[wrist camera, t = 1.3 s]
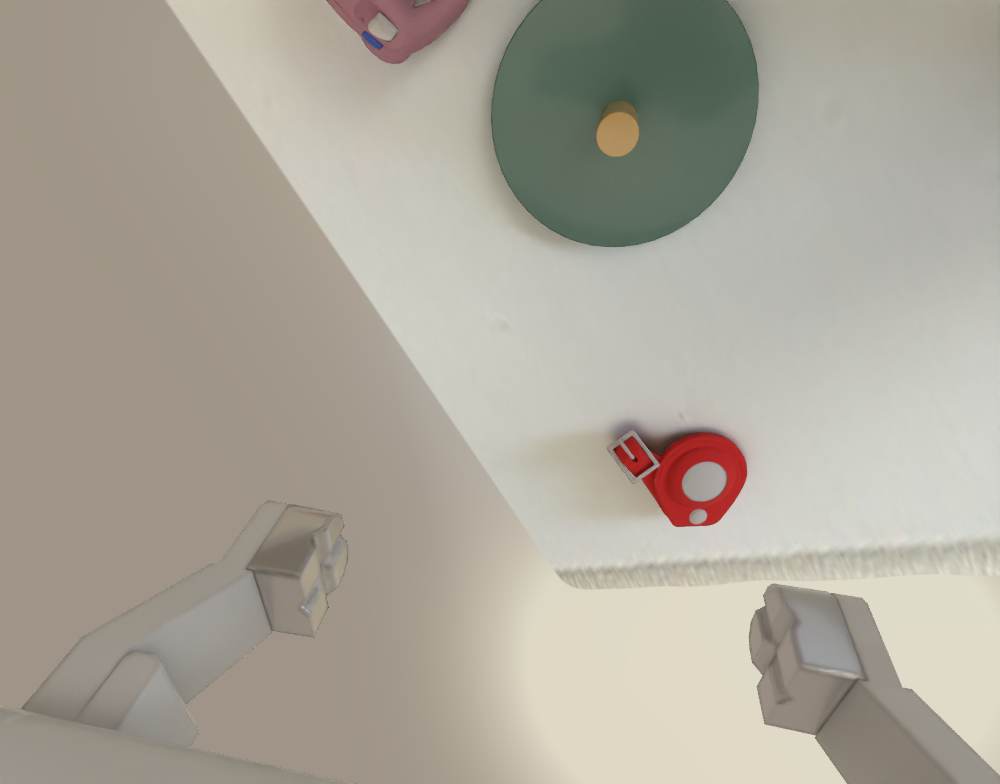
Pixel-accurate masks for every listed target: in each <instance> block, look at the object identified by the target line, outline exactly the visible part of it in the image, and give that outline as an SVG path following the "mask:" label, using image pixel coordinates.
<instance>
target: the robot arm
mask: <svg viewBox="0 0 1000 784" xmlns="http://www.w3.org/2000/svg"><path fill="white" fill-rule="evenodd" d="M343 528H344V521H343V517H342V514H339V513H334V512H329V511H324V510H319V509H314V508H308V507H303V506H298V505H293V504H287V503H281V502H275V501H269V500H268V501H266V502H265V503H263V504H262V505H261V506H260V507H259V508H258V510H257V511H256V512H255V514H254V515H253V516H252V518H251V519H250V521H249V522H248V524H247V525H246V526H245V528H244V529H243V530H242V532H241V533H240V535H239V536H238V537H237V539H236V540H235V542H234V543H233V544H232V546H231V547H230V549H229V550H228V551H227V553H226V554H225V556H224V557H223V559H222V560H221V561H220V563H219V564H212V563H211V564H209V565H207V566H206V567H204V568H202V569H201V570H199V571H197V572H195V573H193V574H192V575H190V576H188V577H186V578H185V579H183V580H181V581H179V582H177V583H176V584H174V585H172V586H170V587H169V588H167V589H165V590H164V591H162V592H160V593H158V594H156V595H155V596H153V597H151V598H149V599H148V600H146V601H144V602H142V603H141V604H139V605H137V606H135V607H134V608H132V609H130V610H128V611H127V612H125V613H123V614H122V615H120V616H118V617H116V618H114V619H112V620H111V621H109V622H107V623H105V624H104V625H102V626H100V627H99V628H97V629H95V630H93V631H92V632H90V633H88V634H86V635H84V636H83V637H81V638H80V640H79V641H78V642H77V643H76V644H75V646H74V647H73V648H72V649H71V650H70V652H69V653H68V654H67V655H66V656H65V657H64V659H63V660H62V661H61V662H60V663H59V664H58V666H57V667H56V668H55V669H54V670H53V672H52V673H51V674H50V675H49V676H48V677H47V679H46V680H45V681H44V682H43V683H42V685H41V686H40V687H39V688H38V689H37V691H36V692H35V693H34V694H33V695H32V696H31V697H30V699H29V700H28V701H27V702H26V703H25V705H24V706H23V707H22V708H21V709H16V708H12V707H7V706H3V705H0V784H355V783H350V782H346V781H341V780H337V779H332V778H327V777H323V776H319V775H314V774H310V773H305V772H300V771H296V770H291V769H287V768H282V767H278V766H274V765H269V764H265V763H260V762H256V761H251V760H247V759H242V758H237V757H233V756H229V755H224V754H219V753H215V752H210V751H205V750H201V749H197V748H192V747H191V746H192V744H193V743H194V741H195V739H196V737H197V735H198V730H197V726H196V724H195V722H194V720H193V718H192V716H191V715H190V713H189V711H188V709H187V707H186V704H187V703H188V702H190V701H191V700H192V699H193V698H195V697H196V696H197V695H198V694H199V693H201V692H202V691H203V690H204V689H205V688H206V687H208V686H209V685H210V684H211V683H213V682H214V681H215V680H216V679H218V678H219V677H220V676H221V675H222V674H224V673H225V672H226V671H227V670H228V669H230V668H231V667H232V666H233V665H234V664H236V663H237V662H238V661H239V660H241V659H242V658H243V657H244V656H245V655H247V654H248V653H249V652H250V651H251V650H253V649H254V648H255V647H256V646H258V645H259V644H260V643H261V642H262V641H263V640H265V639H266V638H267V637H268V636H270V635H271V634H272V631H277V632H282V633H289V634H295V635H302V636H307V637H313V638H314V637H315V635H316V633H317V630H318V628H319V626H320V624H321V622H322V620H323V618H324V616H325V614H326V612H327V610H328V608H329V606H328V601H327V595H328V594H330V593H331V592H333V591H334V590H336V589H337V588H338V587H339V585H340V583H341V580H342V578H343V576H344V573H345V569H346V565H347V561H348V544H347V541H346V540H345V539H344V538H343V537H342V535H341V532H342V530H343ZM763 597H764V601H765V606H764V607H762V608H760V609H758V610H756V611H755V614H754V616H753V618H752V621H751V626H750V632H749V646H750V653H751V659H752V663H753V664H754V665H755V666H756V668H757V669H758V670H759V671H760V672H761V674H762V675H763V676H762V678H761V680H760V682H759V683H758V685H757V690H758V695H759V699H760V704H761V710H762V714H763V719H764V724H766V725H771V726H776V727H780V728H785V729H790V730H794V731H798V732H803V733H808V734H812V735H816V737H815V739H816V740H817V742H818V743H819V744H820V746H821V747H822V749H823V750H824V751H825V753H826V754H827V756H828V757H829V759H830V760H831V761H832V763H833V764H834V766H835V767H836V768H837V770H838V771H839V773H840V774H841V776H842V777H843V778H844V780H845V781H846V783H847V784H1000V776H999V774H998V773H996V771H995V770H993V769H992V768H991V767H990V766H989V765H988V764H987V763H986V762H985V761H984V760H983V759H982V758H981V757H980V756H979V755H978V754H977V753H976V752H975V751H974V750H973V749H972V748H971V747H970V746H969V745H968V744H967V743H966V742H965V741H964V740H963V739H962V738H961V737H960V736H959V735H958V734H957V733H955V731H954V730H952V728H951V727H950V726H948V724H947V723H946V722H944V721H943V720H942V719H941V718H940V717H939V716H938V715H937V714H936V713H935V712H934V711H933V710H932V709H931V708H930V707H929V706H928V705H927V704H926V703H925V702H924V701H923V700H922V699H921V698H920V697H919V696H918V695H917V694H916V693H915V692H914V691H913V690H912V689H907V688H903V687H902V686H901V683H900V681H899V678H898V676H897V673H896V671H895V669H894V666H893V664H892V661H891V659H890V657H889V654H888V652H887V649H886V647H885V644H884V642H883V640H882V637H881V635H880V632H879V630H878V628H877V625H876V623H875V620H874V618H873V616H872V613H871V611H870V608H869V606H868V604H867V603H866V602H865V601H864V600H863V599H862V598H859V597H853V596H847V595H840V594H835V593H829V592H826V591H819V590H812V589H806V588H799V587H792V586H786V585H779V584H771V585H770V586H768V588H767V589H766V591H765V593H764V595H763Z"/></svg>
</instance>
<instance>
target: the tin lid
mask: <svg viewBox="0 0 1000 784" xmlns="http://www.w3.org/2000/svg"><path fill="white" fill-rule="evenodd" d="M758 87H759V83H758V74H757V65H756V60H755V56H754V53H753V49H752V45H751V42H750V40H749V37H748V35H747V33H746V30H745V28H744V26H743V24H742V22H741V21H740V19H739V17H738V16H737V14H736V12H735V11H734V9H733V8H732V7H731V6H730V4H729V3H728V2H727V1H726V0H541V1H540V2H539V3H538V4H537V5H536V6H535V7H534V8H533V9H532V10H531V11H530V13H529V14H528V15H527V16H526V18H525V19H524V20H523V22H522V23H521V25H520V26H519V27H518V29H517V30H516V32H515V34H514V36H513V37H512V39H511V41H510V43H509V45H508V47H507V49H506V51H505V54H504V56H503V58H502V61H501V63H500V66H499V70H498V73H497V77H496V81H495V85H494V91H493V98H492V114H491V123H492V134H493V141H494V146H495V151H496V155H497V158H498V161H499V164H500V167H501V170H502V172H503V175H504V177H505V179H506V181H507V183H508V185H509V187H510V188H511V190H512V191H513V193H514V194H515V196H516V197H517V199H518V200H519V201H520V202H521V204H522V205H523V206H524V207H525V208H526V210H527V211H528V212H529V213H530V214H532V215H533V216H534V217H535V218H536V219H537V220H538V221H539V222H541V223H542V224H544V225H545V226H546V227H548V228H549V229H551V230H552V231H554V232H556V233H558V234H560V235H562V236H564V237H566V238H569V239H572V240H574V241H577V242H580V243H585V244H589V245H594V246H603V247H624V246H631V245H638V244H642V243H646V242H649V241H653V240H656V239H658V238H661V237H663V236H666V235H668V234H670V233H672V232H674V231H676V230H678V229H680V228H681V227H683V226H685V225H686V224H688V223H689V222H690V221H692V220H693V219H695V218H696V217H698V216H699V215H700V214H701V213H702V212H703V211H704V210H706V209H707V208H708V207H709V206H710V205H711V204H712V203H713V202H714V201H715V200H716V198H717V197H718V196H719V195H720V194H721V193H722V192H723V191H724V189H725V188H726V186H727V185H728V183H729V182H730V181H731V179H732V178H733V176H734V175H735V173H736V171H737V169H738V167H739V166H740V164H741V162H742V160H743V158H744V156H745V153H746V151H747V148H748V146H749V143H750V140H751V137H752V133H753V129H754V126H755V122H756V115H757V108H758Z"/></svg>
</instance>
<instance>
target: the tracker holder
mask: <svg viewBox="0 0 1000 784" xmlns="http://www.w3.org/2000/svg"><path fill="white" fill-rule="evenodd" d="M633 436H634V437H633ZM607 450H608V452H609V453H610V454H611V456H612V457H613V458H614V460H615V461H616V462H617V464H618V465H619V466H620V468H621V469H622V470H623V472H624V473H625V474H626V476H627V477H628V478H629V480H630V481H631V482H632V484H635V483H636V482H638V481H639V480H640V479H642V480H643V482H644V483H645V485H646V486H647V488H648V489H649V491H650V492H651V494H652V495H653V497H654V498H655V500H656V501H657V503H658V504H659V506H660V508H661V509H662V511H663V512H664V514H665V515H666V516H667V517H668V518H669V519H670V521H671V523H672V524H673V525H674V526H676V527H685V526H708V525H713V524H715V523H717V522H718V521H719V520H720V519H721V518H722V517H723V516H724V514H725V513H726V512H727V510H728V509H729V508H730V507H731V505H732V504H733V503H734V501H735V499H736V498H737V496H738V495H739V493H740V491H741V489H742V487H743V485H744V483H745V481H746V477H747V466H746V461H745V458H744V456H743V454H742V453H741V451H740V450H739V449H738V447H737V446H736V445H735V444H734V443H733V442H732V441H730V440H729V439H727V438H725V437H724V436H721V435H718V434H714V433H695V434H691V435H688V436H685V437H683V438H680V439H679V440H677V441H675V442H674V443H672V444H671V445H670V446H669V447H667V449H666V450H665V451H664V452H663V453H662V455H657V454H655V453H653V452H651V451H650V450H649V449H648V448H647V447H646V446H645V444H644V443H643V442H642V440H641V439H640V438H639V436H638V435H637V434H636V432H635V431H634V430H630V431H629V432H627V433H626V434H624V435H623V436H622V437H620V438H619V439H617V440H616V441H615V442H613V443H612V444H610V445H609V446H608V447H607ZM613 450H614V452H615V453H616V454H615V453H614V452H613ZM616 455H617V456H618V457H617V456H616ZM619 459H620V460H621V461H622V462H621V461H620V460H619ZM622 463H623V464H624V465H625V466H626V467H627V468H628V470H629V471H630V472H631V473H632V474H633V475H634V476H635V477H636V478H635V479H634V478H633V477H632V476H631V474H630V473H629V472H628V470H627V469H626V468H625V466H624V465H623V464H622Z"/></svg>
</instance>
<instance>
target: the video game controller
mask: <svg viewBox="0 0 1000 784" xmlns="http://www.w3.org/2000/svg"><path fill="white" fill-rule="evenodd" d="M468 1H469V0H431V1H430V2H428V3H425V4H423V5H421V6H419V7H416V8H413V6H414V2H415V0H327V2H328V3H329V4H330V5H331V6H332V8H333V9H334V10H335V11H336V12H337V13H338V14H339V15H340V17H341V18H342V19H343V20H344V21H345V22H346V23H347V24H348V25H349V26H350V27H351V28H352V29H353V30H355V31H356V32H357V33H358V34H359V35H360V36H361V38H362V40H363V42H364V43H365V45H366V47H367V48H368V49H369V50H370V51H371V52H372V53H373V54H374V55H375V56H377V57H378V58H379V59H381V60H383V61H385V62H387V63H391V64H399V63H402V62H404V61H405V60H407V58H408V57H409V56H410V55H411V53H413V52H416V51H418V50H420V49H422V48H423V47H425V46H427V45H428V44H430V43H431V42H432V41H434V40H435V39H436V38H438V37H439V36H440V35H441V34H442V33H443V32H444V31H445V30H446V29H447V28H448V27H449V26H450V25H451V24H452V23H453V22H454V21H455V20H456V18H457V17H458V16H459V15H460V14H461V13H462V12H463V10H464V9H465V7H466V6H467V3H468Z"/></svg>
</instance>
